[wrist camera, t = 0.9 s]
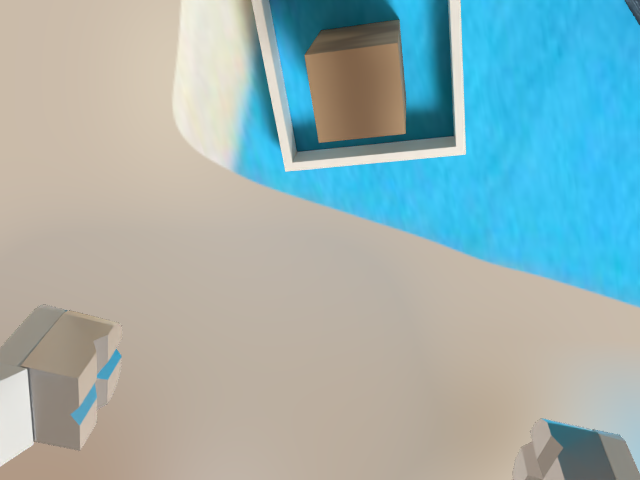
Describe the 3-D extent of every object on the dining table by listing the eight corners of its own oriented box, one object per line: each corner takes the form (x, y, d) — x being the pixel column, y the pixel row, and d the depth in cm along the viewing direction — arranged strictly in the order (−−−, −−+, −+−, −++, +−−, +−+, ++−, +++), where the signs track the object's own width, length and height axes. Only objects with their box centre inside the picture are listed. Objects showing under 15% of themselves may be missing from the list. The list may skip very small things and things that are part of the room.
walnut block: (399, 19, 36) (397, 42, 30) (406, 97, 39) (405, 133, 33) (321, 30, 37) (304, 55, 31) (332, 106, 40) (318, 142, 34)
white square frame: (455, -54, 34) (458, -52, 32) (463, 143, 40) (465, 154, 38) (255, -22, 36) (247, -18, 34) (290, 160, 42) (285, 171, 40)
